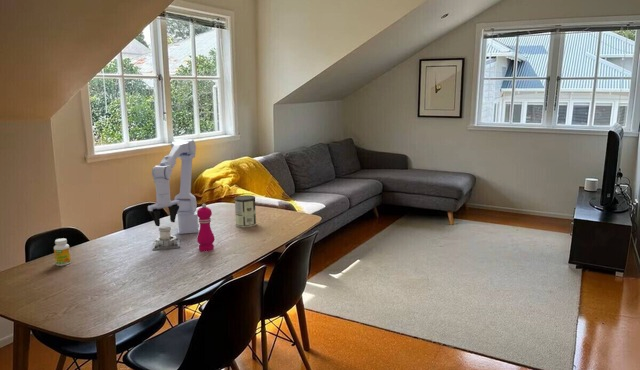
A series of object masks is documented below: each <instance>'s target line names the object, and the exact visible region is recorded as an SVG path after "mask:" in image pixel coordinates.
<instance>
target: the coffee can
mask: <svg viewBox="0 0 640 370" xmlns="http://www.w3.org/2000/svg"><path fill="white" fill-rule="evenodd" d="M234 210H235V211H234V212H235V226H236V227H238V228H251V227H255V226H256V225H257V218H256V213H257V212H256V196H254V195H248V194H247V195H238V196H235V197H234Z"/></svg>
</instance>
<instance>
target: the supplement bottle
mask: <svg viewBox="0 0 640 370" xmlns="http://www.w3.org/2000/svg"><path fill="white" fill-rule="evenodd" d="M54 244H55V245H54V246H53V255H54V260H55V261H54V262H55V265H56V266H67V265H70V264H71V263H72V260H71V251H70V250H71V249H70V245H69V244H68V240H67V238H64V237H63V238H56V239H55V240H54Z"/></svg>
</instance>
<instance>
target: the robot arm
mask: <svg viewBox="0 0 640 370" xmlns="http://www.w3.org/2000/svg"><path fill="white" fill-rule="evenodd" d="M196 145H197V144H196V142H195V140H194V139H175V138H174V139H173V140H172V142H171V147H170V148H171V150H170V152H169V153H168V155H165V156H163V158H162V159H161V161H160V162H159V164H158V165H155V166H153V168H152V170H151V176H152V178H153V183H154V184H155V196H156V203H154V204H151V205H148V206H147V211H148V212H149V214H150V215H151V217H152V219H153V222H154V225H155V227H160V226H161V220H160V218H161V217H160V216H161V211H160V210H161V209H164V208H168V211H169V218H170V219H169V220H170V222H171V223H175V222H176V217H177V222H178V223H177V227H178V228H177V235H182V234H193V233H199V229H200V223H199V217H198V216H197V212H196V211H197V208H198V207H197V206H198V205H197V198H196V196H195V195H194V194H193V193H191V190H192V172H193V159H194V158H196V155H197V154H196V152H197V146H196ZM178 158H179V159H180V160H181V165H180V179H179V180H180V185H179V193H178V194H176V195H175V196H174V200H171V187H170V186H171V185H170V179H171V177H172V173H173V168H174V167H175V166H176V164H177V159H178Z"/></svg>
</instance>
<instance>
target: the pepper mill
mask: <svg viewBox="0 0 640 370" xmlns="http://www.w3.org/2000/svg"><path fill="white" fill-rule="evenodd" d="M196 211H197V212H196V213H197V216H198V224H199V230H198V234H197V237H196V242H197V243H198V250H199V252H211V251H213V250H214V249H215V245H214V242H215V240H216V239H215V235H214V233H213V231H212V229H211V221H212V219H211V216H212V215H213V212H212V209H211V208H210V207H207V204H206V203H202V204H201V207H200V208H199V209H198V210H196Z"/></svg>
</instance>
